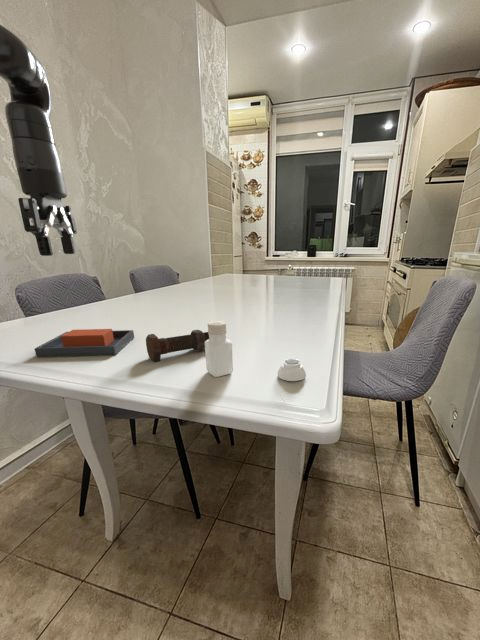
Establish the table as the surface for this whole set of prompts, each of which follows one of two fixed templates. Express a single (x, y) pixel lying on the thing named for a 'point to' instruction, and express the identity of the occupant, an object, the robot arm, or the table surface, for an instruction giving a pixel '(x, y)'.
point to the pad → (87, 338)
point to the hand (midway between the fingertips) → (58, 254)
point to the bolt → (175, 344)
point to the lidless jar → (291, 370)
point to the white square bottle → (218, 350)
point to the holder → (57, 350)
